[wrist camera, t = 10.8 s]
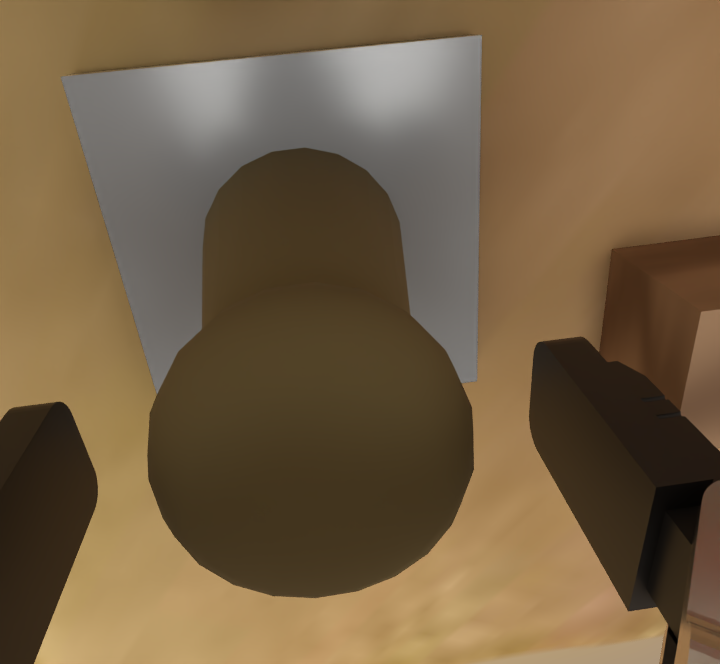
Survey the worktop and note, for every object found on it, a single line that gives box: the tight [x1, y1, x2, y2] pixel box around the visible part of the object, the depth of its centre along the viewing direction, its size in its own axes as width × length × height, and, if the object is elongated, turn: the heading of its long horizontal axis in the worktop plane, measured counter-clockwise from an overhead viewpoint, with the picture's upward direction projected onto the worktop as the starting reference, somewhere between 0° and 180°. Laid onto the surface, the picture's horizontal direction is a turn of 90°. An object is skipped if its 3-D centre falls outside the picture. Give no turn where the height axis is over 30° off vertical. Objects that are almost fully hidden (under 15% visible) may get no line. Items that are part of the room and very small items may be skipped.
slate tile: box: [61, 35, 482, 394], centre depth 18 cm, size 11×11×1 cm
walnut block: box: [599, 236, 720, 449], centre depth 19 cm, size 5×5×5 cm
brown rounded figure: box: [147, 147, 474, 598], centre depth 13 cm, size 6×6×11 cm
